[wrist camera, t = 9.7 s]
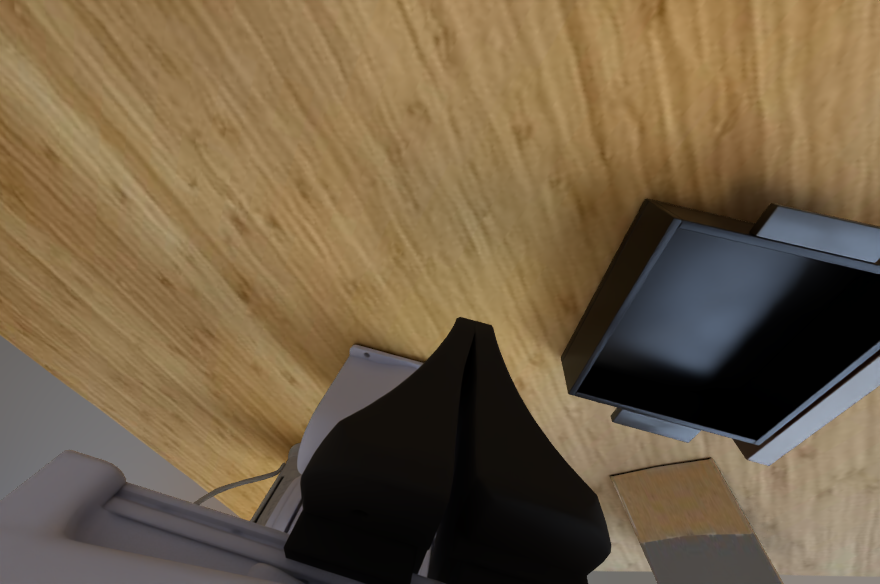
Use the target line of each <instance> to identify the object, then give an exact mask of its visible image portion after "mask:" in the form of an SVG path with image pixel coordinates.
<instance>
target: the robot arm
mask: <svg viewBox="0 0 880 584" xmlns="http://www.w3.org/2000/svg"><path fill="white" fill-rule="evenodd" d="M367 353H368V354H367ZM297 469H298V472H299V473H300V474H302V475H301V476H299V477H297V478H295V479H294V480H293V481H292V483H291V484H290V485H289V487H288V488H287V490H286V491H285V493H284V494H283V496H282V497H281V499H280V501H279V502H278V504H277V506H276V507H275V509H274V511H273V512H272V514H271V516H270V518H269V519H268V521H267V523H266V525H265V526H263V525H260V524H257V523H254V522H251V521H247V520H244V519H241V518H238V517H235V516H232V515H229V514H225V513H222V512H219V511H216V510H213V509H210V508H206V507H203V506H200V505H197V504H194V503H191V502H188V501H184V500H181V499H178V498H175V497H172V496H169V495H166V494H162V493H159V492H156V491H153V490H150V489H147V488H143V487H140V486H137V485H134V484H131V483H128V482H126V478H125V476H124V474H123V473H122V471H121V470H120V469H119V468H117V467H116V466H115V465H113V464H112V463H109V462H107V461H104V460H101V459H98V458H95V457H91V456H89V455H85V454H82V453H79V452H76V451H73V450H66V451H64V452H62V453H61V454H60V455H58V456H57V457H56V458H55V459H53V460H52V461H51V462H50V463H48V464H47V465H46V466H44V467H43V468H42V469H41V470H39V471H38V472H37V473H35V474H34V475H33V476H32V477H30V478H29V479H28V480H26V481H25V482H24V483H23V484H21V485H20V486H19V487H17V488H16V489H15V490H14V491H12V492H11V493H10V494H8V495H7V496H6V497H5V498H3V499H2V500H1V501H0V584H588V580H587V575H588V574H589V573H590V572H592V571H593V570H594V569H595V568H597V567H598V566H599V565H600V564H601V563H603V562H604V560H605V559H606V558H607V557H608V555H609V554H610V553H611V542H610V537H609V533H608V529H607V525H606V521H605V518H604V514H603V511H602V509H601V506H600V503H599V500H598V496H597V495H596V494H595V493H594V492H593V490H592V489H591V488H590V487H589V486H588V485H587V484H586V483H585V482H584V481H583V480H582V479H581V477H580V476H579V475H578V474H577V473H576V472H575V471H574V470H573V469H572V468H571V467H570V465H569V464H568V463H567V462H566V461H565V460H564V458H563V457H562V456H561V455H560V453H559V452H558V451H557V450H556V449H555V447H554V446H553V445H552V444H551V442H550V441H549V439H548V438H547V437H546V435H545V434H544V433H543V431H542V430H541V428H540V427H539V426H538V424H537V423H536V421H535V420H534V418H533V417H532V415H531V414H530V412H529V410H528V409H527V407H526V405H525V404H524V402H523V400H522V398H521V397H520V395H519V393H518V391H517V389H516V387H515V385H514V383H513V381H512V379H511V377H510V374H509V372H508V370H507V368H506V365H505V363H504V360H503V358H502V355H501V352H500V350H499V347H498V344H497V340H496V337H495V333H494V329H493V327H492V325H489V324H485V323H481V322H478V321H474V320H470V319H466V318H462V317H459V318H457V319H456V322H455V324H454V326H453V328H452V329H451V331H450V333H449V334H448V335H447V337H446V338H445V339H444V341H443V342H442V343H441V345H440V346H439V347H438V348H437V350H436V351H435V352H434V353H433V354H432V355H431V356H430V357H429V358H428V359H427V360H426V361H425V362H424V363H422V362H418V361H414V360H411V359H407V358H403V357H400V356H396V355H392V354H389V353H385V352H381V351H378V350H374V349H370V348H367V347H363V346H359V345H353V346H352V347H351V348H350V356H349V357H348V359H347V360H346V362H345V364H344V365H343V367H342V368H341V370H340V371H339V373H338V375H337V376H336V378H335V379H334V381H333V382H332V384H331V386H330V387H329V389H328V390H327V392H326V394H325V395H324V397H323V398H322V400H321V401H320V403H319V405H318V406H317V408H316V409H315V411H314V413H313V415H312V417H311V419H310V421H309V423H308V425H307V428H306V430H305V433H304V435H303V438H302V441H301V444H300V448H299V452H298V458H297Z"/></svg>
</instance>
